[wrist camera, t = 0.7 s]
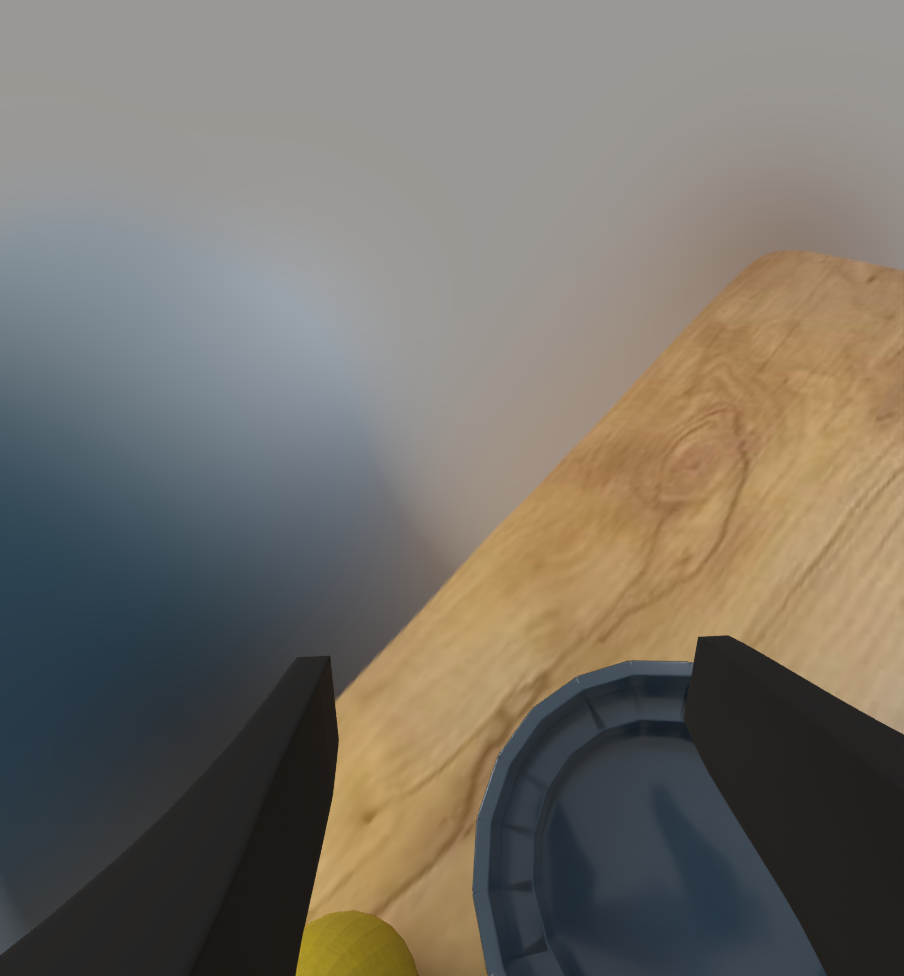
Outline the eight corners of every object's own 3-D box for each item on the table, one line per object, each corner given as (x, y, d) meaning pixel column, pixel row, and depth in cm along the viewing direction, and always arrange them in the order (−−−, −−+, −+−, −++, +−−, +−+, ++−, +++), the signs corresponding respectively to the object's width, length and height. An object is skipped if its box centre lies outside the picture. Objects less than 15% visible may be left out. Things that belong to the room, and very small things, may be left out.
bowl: (968, 858, 19) (1047, 860, 15) (780, 1306, 15) (826, 1454, 12) (616, 628, 27) (613, 593, 23) (433, 888, 23) (395, 896, 19)
